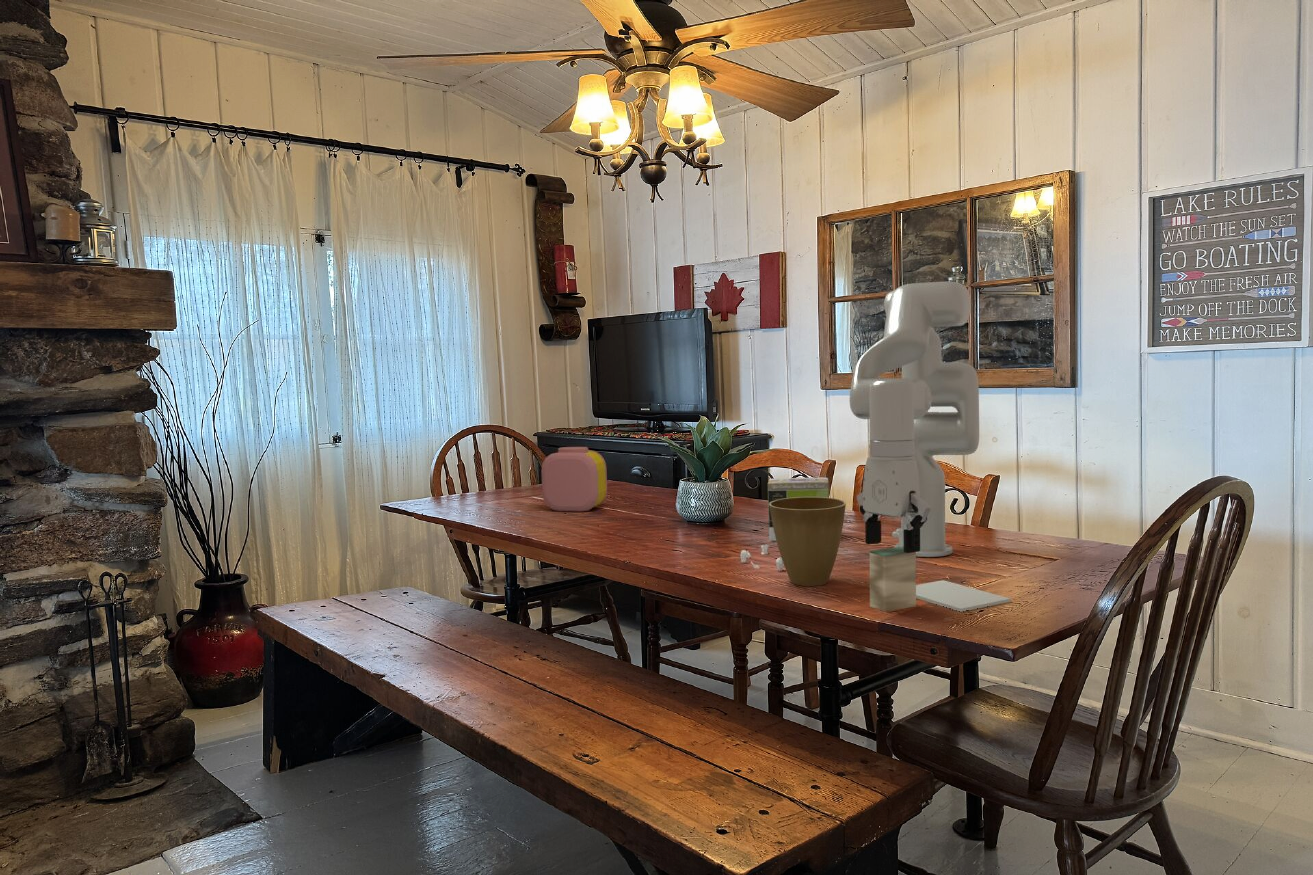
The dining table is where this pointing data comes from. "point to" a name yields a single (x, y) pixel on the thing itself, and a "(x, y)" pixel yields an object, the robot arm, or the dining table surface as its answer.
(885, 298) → the robot arm
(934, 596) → the rubber mat
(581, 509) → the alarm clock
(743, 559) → the game piece set
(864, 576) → the dining table surface
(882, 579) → the beige and green box
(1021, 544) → the dining table surface
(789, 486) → the tea box
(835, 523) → the plant pot
